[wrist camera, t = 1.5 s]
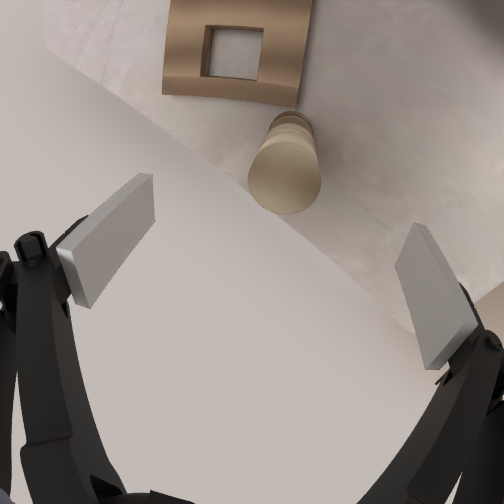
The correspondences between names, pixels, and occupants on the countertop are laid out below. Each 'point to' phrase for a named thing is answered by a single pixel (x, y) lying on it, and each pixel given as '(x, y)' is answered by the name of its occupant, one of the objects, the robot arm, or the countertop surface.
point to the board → (245, 18)
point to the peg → (286, 166)
